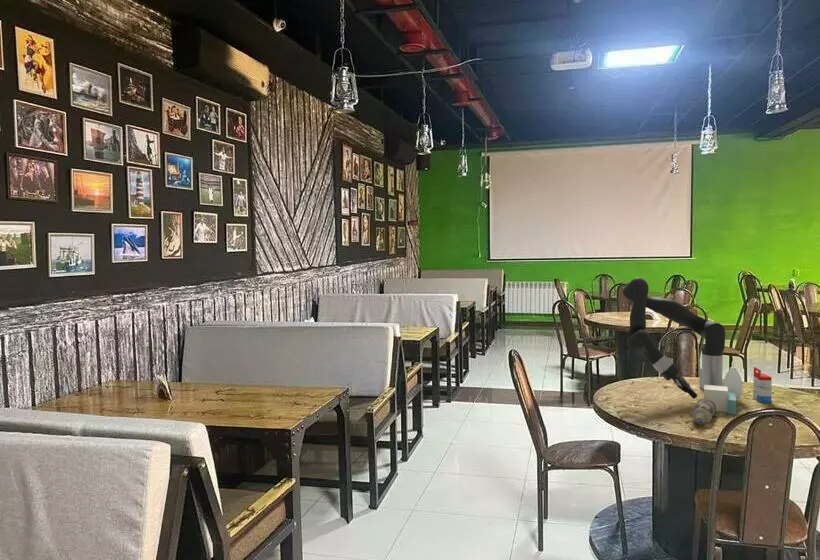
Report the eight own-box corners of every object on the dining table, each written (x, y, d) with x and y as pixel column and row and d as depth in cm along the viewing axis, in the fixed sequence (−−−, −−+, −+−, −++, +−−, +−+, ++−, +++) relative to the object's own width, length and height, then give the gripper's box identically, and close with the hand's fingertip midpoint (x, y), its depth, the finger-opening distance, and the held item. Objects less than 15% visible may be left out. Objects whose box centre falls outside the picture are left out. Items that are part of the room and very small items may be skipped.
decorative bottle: (696, 412, 248) (696, 396, 248) (716, 415, 244) (716, 399, 244) (686, 428, 227) (686, 411, 227) (708, 431, 223) (708, 414, 223)
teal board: (727, 413, 245) (728, 399, 244) (726, 404, 259) (727, 391, 259) (736, 414, 243) (736, 400, 243) (734, 405, 258) (734, 391, 257)
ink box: (771, 403, 260) (772, 370, 259) (759, 402, 261) (760, 370, 260) (764, 398, 269) (764, 366, 268) (752, 397, 270) (753, 366, 269)
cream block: (703, 409, 252) (704, 389, 251) (704, 404, 260) (704, 384, 259) (727, 412, 248) (727, 391, 247) (727, 406, 256) (727, 386, 255)
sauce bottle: (741, 399, 267) (742, 360, 266) (743, 403, 260) (743, 363, 259) (722, 398, 270) (722, 359, 269) (723, 402, 263) (723, 362, 262)
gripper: (660, 369, 269) (689, 398, 265) (658, 375, 258) (688, 406, 253) (673, 359, 267) (702, 388, 262) (671, 365, 255) (702, 395, 250)
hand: (695, 397), depth 257 cm, fingers closed
